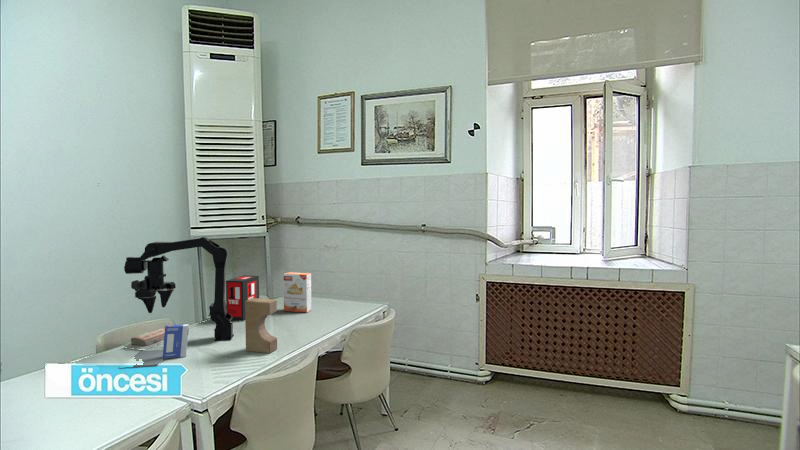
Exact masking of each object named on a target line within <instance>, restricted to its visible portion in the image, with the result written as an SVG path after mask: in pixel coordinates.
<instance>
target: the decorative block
mask: <svg viewBox="0 0 800 450" xmlns="http://www.w3.org/2000/svg"><path fill="white" fill-rule="evenodd" d="M277 301H278V299H271V298H270V299H268V298H260V297H259V298H252V299H249V300H247V301H245V320H244V321H245V327H244V328H245V351H246V352H251V353H252V352H253V353H260V354H261V353H262V354H271V353H272V352H274V351H276V350H278V338H277V336H274V335H272V334H270V333H269V332H268V330H267V328H266V323H265V322H266V319H267V318H268V316H270V315H272V314H274V313H277V311H278V310H277V309H278V308H277V306H278V303H277Z"/></svg>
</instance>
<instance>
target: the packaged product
mask: <svg viewBox="0 0 800 450" xmlns="http://www.w3.org/2000/svg"><path fill="white" fill-rule="evenodd" d="M164 334H165V326H164V327H160V328H157V329H154V330H151V331H148V332H145V333H142V334H139V335H135V336H133V337H131V339H130V343H127V344H125V345H124V348H125V347H127V348H134V349H146V350H148V349H147V348H149V349H151V348H154V347H156V346H155V345H157V346H159V344H160V345H162V344H161V343H163V344H164ZM153 346H154V347H153ZM150 347H151V348H150ZM127 348H126V349H127Z"/></svg>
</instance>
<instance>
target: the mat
mask: <svg viewBox="0 0 800 450" xmlns="http://www.w3.org/2000/svg"><path fill="white" fill-rule="evenodd" d="M133 356H134V357H135V358H134V359H136V361H139V359H142V361H143V362H144V363H143V365H137V364H136V365H134V366H133V367H135V368H145V367H147V368H148V367H158V366H159V365H160V364H161V363H162V362H163V361H165V360H166V358H163V349H150V350H148V349H146V350H144V351H140V350H139V351H138V352H137V353H136V354H134V355H133ZM162 360H163V361H162ZM161 361H162V362H161ZM160 362H161V363H160ZM159 363H160V364H159ZM158 364H159V365H158ZM141 366H143V367H141Z"/></svg>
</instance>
